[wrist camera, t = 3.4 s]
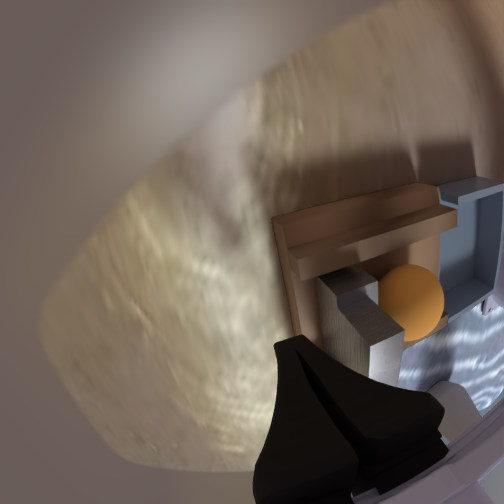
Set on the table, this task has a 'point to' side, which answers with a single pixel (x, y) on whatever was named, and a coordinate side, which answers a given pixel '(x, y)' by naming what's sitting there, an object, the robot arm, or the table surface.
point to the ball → (412, 299)
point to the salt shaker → (454, 409)
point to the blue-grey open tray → (471, 243)
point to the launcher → (359, 244)
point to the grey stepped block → (358, 325)
